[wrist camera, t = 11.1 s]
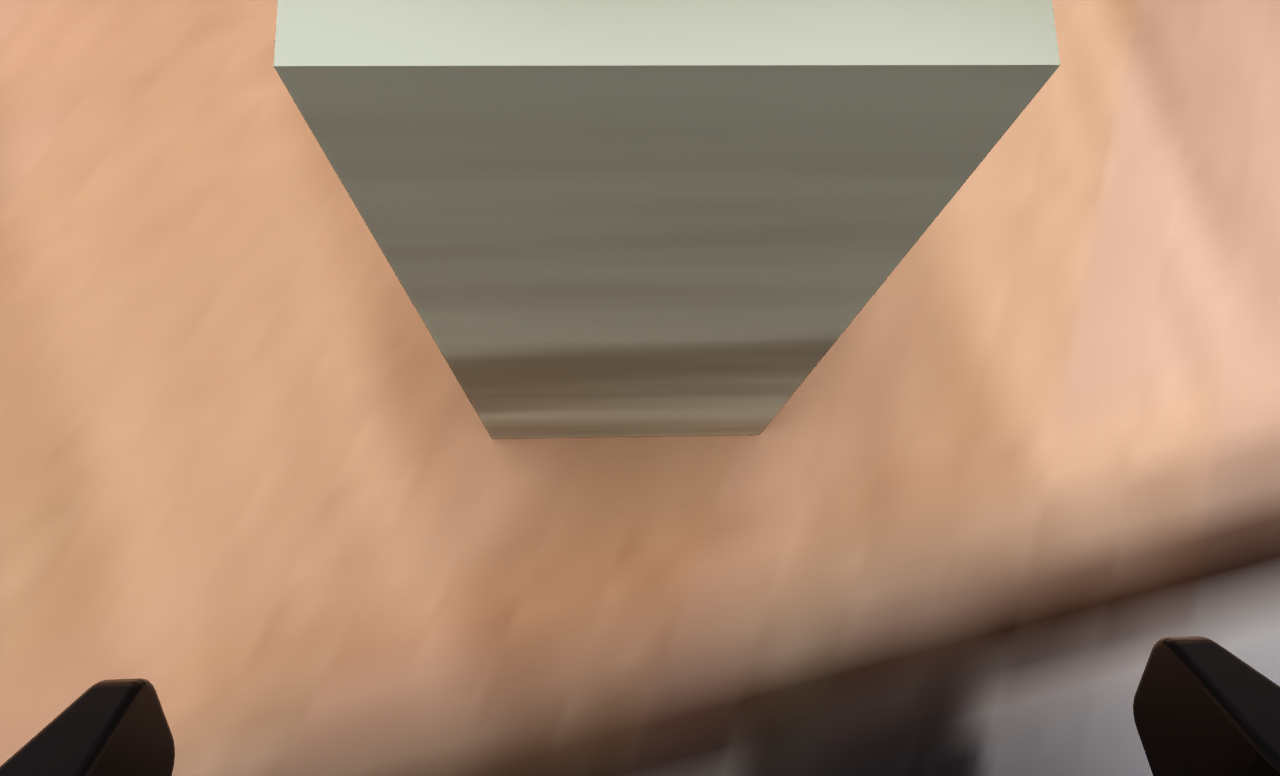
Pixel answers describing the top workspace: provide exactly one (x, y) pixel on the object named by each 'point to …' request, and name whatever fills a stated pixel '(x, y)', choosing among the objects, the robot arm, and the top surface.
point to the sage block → (652, 181)
